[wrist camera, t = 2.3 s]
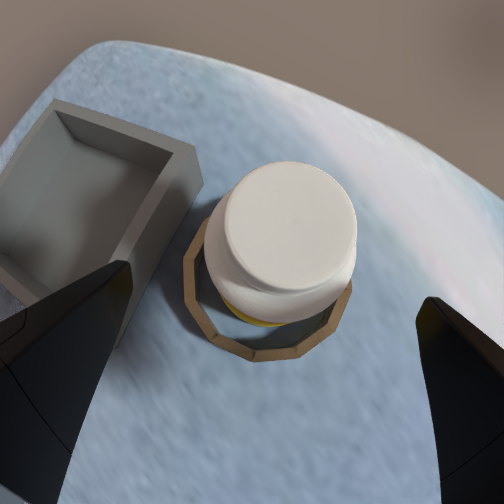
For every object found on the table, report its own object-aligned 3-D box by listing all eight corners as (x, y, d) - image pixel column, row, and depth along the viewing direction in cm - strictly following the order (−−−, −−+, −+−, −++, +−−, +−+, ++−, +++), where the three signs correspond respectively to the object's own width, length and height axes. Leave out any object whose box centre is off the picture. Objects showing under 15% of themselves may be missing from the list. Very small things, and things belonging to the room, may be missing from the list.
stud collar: (304, 383, 18) (309, 387, 16) (161, 314, 18) (154, 312, 17) (363, 245, 20) (371, 238, 18) (231, 183, 20) (230, 172, 19)
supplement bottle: (319, 319, 19) (399, 303, 9) (225, 333, 18) (203, 333, 8) (304, 229, 20) (358, 134, 10) (214, 239, 20) (188, 147, 10)
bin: (116, 347, 18) (83, 350, 13) (2, 262, 19) (-36, 247, 14) (203, 183, 20) (194, 146, 16) (78, 132, 21) (54, 98, 17)
